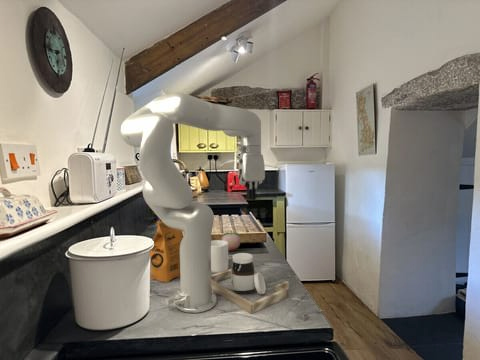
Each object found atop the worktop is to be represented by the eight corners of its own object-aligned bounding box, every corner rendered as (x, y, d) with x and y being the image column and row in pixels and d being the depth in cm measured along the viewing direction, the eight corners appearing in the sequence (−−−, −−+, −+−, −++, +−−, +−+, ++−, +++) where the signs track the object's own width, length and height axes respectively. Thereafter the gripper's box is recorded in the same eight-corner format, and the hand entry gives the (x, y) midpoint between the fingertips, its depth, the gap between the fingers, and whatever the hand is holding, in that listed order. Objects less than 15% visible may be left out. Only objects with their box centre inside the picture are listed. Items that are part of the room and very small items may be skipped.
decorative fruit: (223, 254, 133) (223, 233, 132) (220, 249, 141) (220, 229, 140) (243, 253, 135) (242, 232, 135) (239, 247, 143) (239, 228, 143)
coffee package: (146, 279, 107) (144, 221, 105) (169, 267, 118) (167, 215, 116) (166, 284, 103) (164, 224, 101) (188, 272, 113) (187, 217, 112)
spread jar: (229, 283, 103) (229, 252, 102) (260, 281, 105) (260, 250, 104) (234, 300, 91) (234, 264, 90) (269, 297, 93) (269, 262, 92)
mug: (235, 263, 122) (234, 239, 121) (222, 274, 111) (222, 247, 110) (217, 261, 125) (216, 237, 125) (203, 271, 114) (202, 244, 113)
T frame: (250, 314, 83) (250, 305, 83) (204, 284, 103) (204, 277, 102) (296, 292, 96) (296, 285, 95) (247, 269, 115) (247, 263, 115)
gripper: (241, 150, 100) (242, 202, 102) (272, 150, 110) (272, 198, 111) (229, 151, 106) (229, 200, 108) (258, 151, 116) (259, 196, 117)
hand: (251, 199), depth 109 cm, fingers closed
